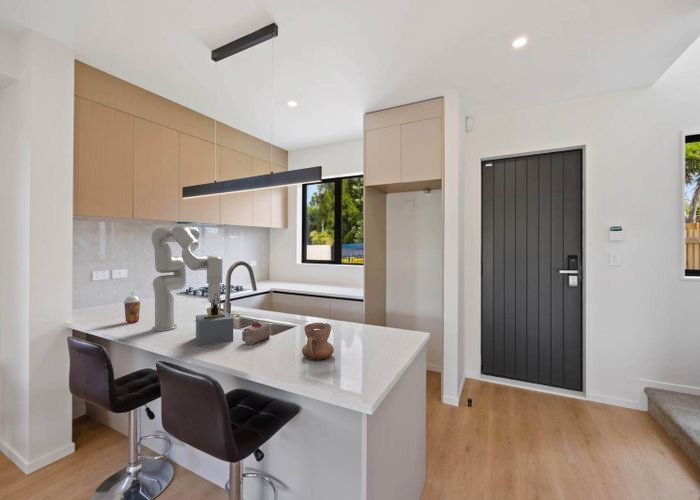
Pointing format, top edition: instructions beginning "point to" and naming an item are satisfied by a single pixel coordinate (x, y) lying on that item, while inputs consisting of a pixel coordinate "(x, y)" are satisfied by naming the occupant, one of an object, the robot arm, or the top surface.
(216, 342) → the money box
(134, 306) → the smoothie
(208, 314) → the yellow square slab
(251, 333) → the food item
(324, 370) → the top surface
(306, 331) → the ceramic jug
